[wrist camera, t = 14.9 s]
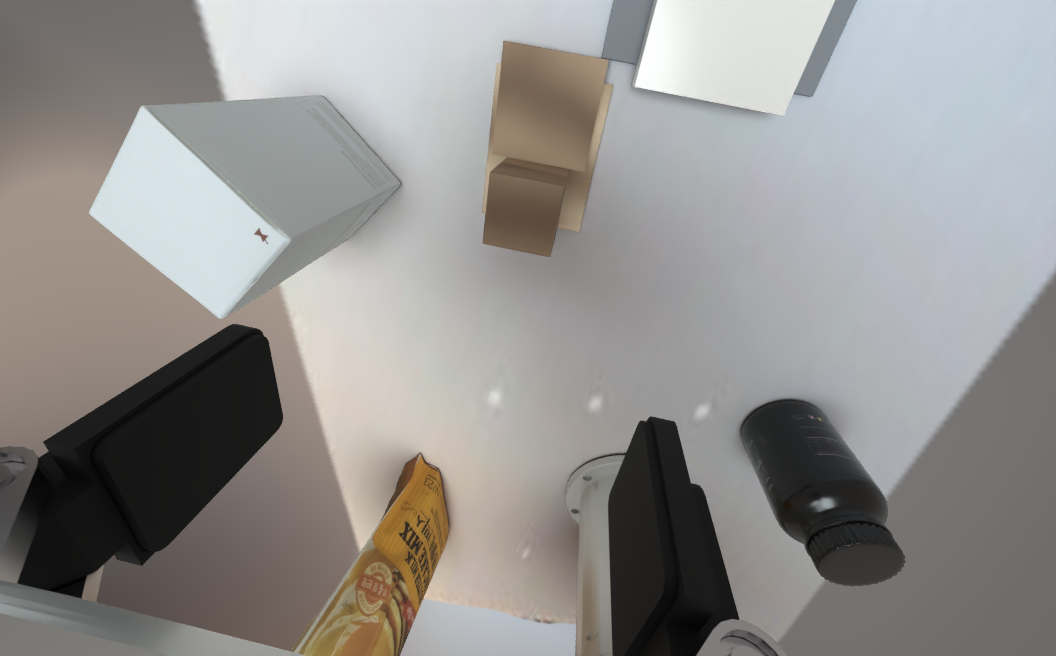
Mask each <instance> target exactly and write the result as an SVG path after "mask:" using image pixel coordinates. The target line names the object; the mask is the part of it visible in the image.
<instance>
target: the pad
mask: <svg viewBox="0 0 1056 656" xmlns="http://www.w3.org/2000/svg"><path fill="white" fill-rule="evenodd" d="M500 71H501V64H499V63H497V67H496V77H495V87H494V97H493V107H492V117H491V128H490V138H489V148H488V158H487V168H486V178H485V188H484V199H483V209H482V213H486V205H487V195H488V185H489V175H490V172H491V171H492V170H493V169H494V168H495V167H496V166H498V165H499V164H500V163H501V162H502V161H503V160H504V159H506V158H507V157H504V156H499V155H494V154H492V149H493V139H494V130H495V120H496V110H497V100H498V90H499V81H500ZM612 88H613V85H611V84H606V83H604V85H603V90H602V94H601V99H600V103H599V108H598V112H597V117H596V121H595V126H594V130H593V135H592V140H591V144H590V149H589V153H588V158H587V162H586V167H585V171H584V172H582V171H577V170H571V169H569V172H568V177H567V182H566V187H565V192H564V197H563V202H562V207H561V212H560V217H559V222H558V227H557V228H561V229H566V230H571V231H576V232H579V230H580V226H581V222H582V218H583V213H584V209H585V205H586V200H587V196H588V192H589V187H590V183H591V179H592V174H593V170H594V166H595V162H596V157H597V153H598V149H599V144H600V140H601V136H602V131H603V127H604V123H605V119H606V114H607V110H608V106H609V101H610V97H611V93H612Z"/></svg>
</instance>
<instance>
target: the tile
mask: <svg viewBox="0 0 1056 656" xmlns="http://www.w3.org/2000/svg"><path fill="white" fill-rule="evenodd" d="M834 2H835V0H654V2H653V6H652V10H651V13H650V17H649V21H648V25H647V29H646V33H645V37H644V40H643V44H642V48H641V52H640V56H639V60H638V64H637V67H636V71H635V75H634V79H633V83H632V87H637V88H642V89H647V90H652V91H657V92H662V93H668V94H673V95H678V96H683V97H688V98H693V99H698V100H703V101H708V102H714V103H719V104H724V105H729V106H734V107H739V108H744V109H749V110H754V111H760V112H765V113H770V114H776V115H781V116H784V114H785V112H786V109H787V107H788V105H789V103H790V100H791V98H792V96H793V94H794V91H795V89H796V87H797V85H798V82H799V80H800V78H801V76H802V73H803V71H804V69H805V67H806V65H807V62H808V60H809V58H810V56H811V53H812V51H813V49H814V47H815V44H816V42H817V40H818V38H819V35H820V33H821V31H822V29H823V26H824V24H825V22H826V20H827V17H828V15H829V13H830V11H831V8H832V6H833V4H834Z"/></svg>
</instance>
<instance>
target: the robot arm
mask: <svg viewBox="0 0 1056 656" xmlns="http://www.w3.org/2000/svg"><path fill="white" fill-rule="evenodd" d="M282 420H283V413H282V408H281V403H280V398H279V393H278V388H277V383H276V377H275V372H274V367H273V362H272V357H271V352H270V347H269V342H268V340H267V338H266V337H264V335H263V333H262V332H261V330H259V329H256V328H252V327H247V326H243V325H238V324H232V325H230V326H228V327H226V328H224V329H223V330H221V331H220V332H218V333H217V334H215V335H213V336H212V337H210V338H209V339H207V340H205V341H204V342H202V343H200V344H199V345H197V346H196V347H194V348H192V349H191V350H189V351H188V352H186V353H184V354H183V355H181V356H180V357H178V358H176V359H175V360H173V361H172V362H170V363H168V364H167V365H165V366H164V367H162V368H160V369H159V370H157V371H156V372H154V373H152V374H151V375H150V376H148V377H146V378H145V379H143V380H141V381H140V382H138V383H136V384H135V385H133V386H132V387H130V388H128V389H127V390H125V391H124V392H122V393H121V394H119V395H117V396H116V397H114V398H112V399H111V400H109V401H108V402H106V403H104V404H103V405H101V406H100V407H98V408H96V409H95V410H94V411H92V412H90V413H88V414H87V415H85V416H84V417H82V418H80V419H79V420H77V421H76V422H74V423H72V424H71V425H70V426H68V427H66V428H64V429H63V430H61V431H60V432H58V433H56V434H55V435H53V436H52V437H50V438H48V439H47V440H45V441H44V442H43V443H44V444H45V446H46V447H47V449H48V450H49V452H47V453H46V454H44V455H43V456H41V457H40V458H39V457H38V456H37V454H36V453H35V452H34V451H33V450H31V449H28V448H25V447H12V446H11V447H10V446H9V447H1V448H0V656H306V655H302V654H298V653H294V652H290V651H286V650H282V649H278V648H274V647H271V646H267V645H262V644H259V643H255V642H251V641H247V640H243V639H239V638H235V637H231V636H227V635H224V634H220V633H216V632H212V631H208V630H204V629H200V628H196V627H192V626H188V625H184V624H180V623H176V622H172V621H168V620H164V619H160V618H156V617H152V616H148V615H144V614H140V613H136V612H132V611H128V610H124V609H120V608H116V607H112V606H108V605H104V604H100V603H96V599H97V594H98V589H99V584H100V580H101V575H102V570H103V566H104V564H105V563H106V562H107V561H108V560H109V559H110V558H111V557H112V556H113V555H115V556H116V558H117V560H121V561H125V562H129V563H133V564H137V565H141V566H142V565H143V564H144V563H145V562H146V561H147V560H148V559H149V558H150V557H151V556H152V555H153V554H154V553H155V552H157V551H160V550H162V549H164V548H165V547H166V546H168V545H169V544H170V543H171V542H172V541H173V540H174V538H176V536H177V535H178V534H179V533H180V532H181V531H182V530H183V529H184V528H185V527H186V526H187V525H188V524H189V523H190V522H191V521H192V520H193V518H195V516H196V515H197V514H198V513H199V512H200V511H201V510H202V509H203V508H204V507H205V506H206V505H207V504H208V503H209V502H210V501H211V500H212V499H213V497H215V495H216V494H217V493H218V492H219V491H220V490H221V489H222V488H223V487H224V486H225V485H226V484H227V483H228V482H229V481H230V480H231V479H232V477H234V476H235V474H236V473H237V472H238V471H239V470H240V469H241V468H242V467H243V466H244V465H245V464H246V463H247V462H248V461H249V460H250V459H251V458H252V456H253V455H254V454H255V453H256V452H257V451H258V450H259V449H260V448H261V447H262V446H263V445H264V444H265V443H266V442H267V441H268V440H269V439H270V438H271V437H272V436H273V434H275V432H276V431H277V430H278V429H279V427H280V426H281V424H282ZM565 503H566V507H567V510H568V512H569V513H570V515H571V517H572V518H573V519H574V520H575V521H576V522H577V523H578V524H579V552H578V585H577V618H576V653H575V656H787V654H786V653H785V651H784V650H783V649H782V648H781V647H780V646H779V645H778V644H777V643H776V642H775V641H774V639H773V638H772V637H770V636H769V635H768V634H766V633H765V632H764V631H762V630H761V629H760V628H758V627H756V626H754V625H752V624H750V623H748V622H746V621H741V620H739V616H738V613H737V609H736V605H735V602H734V598H733V594H732V591H731V587H730V584H729V580H728V576H727V573H726V569H725V565H724V562H723V558H722V555H721V551H720V547H719V544H718V540H717V536H716V533H715V529H714V526H713V522H712V518H711V515H710V511H709V507H708V504H707V500H706V496H705V494H704V491H703V489H702V488H701V487H700V486H699V485H696V484H691V482H690V478H689V474H688V470H687V466H686V462H685V458H684V454H683V450H682V446H681V442H680V438H679V434H678V430H677V426H676V423H675V422H674V421H669V420H665V419H660V418H656V417H649V418H648V420H647V422H646V421H640V422H639V423H638V425H637V428H636V430H635V433H634V435H633V438H632V440H631V442H630V445H629V447H628V450H627V452H626V455H615V456H609V457H603V458H600V459H597V460H593V461H591V462H589V463H587V464H585V465H583V466H582V467H581V468H579V469H578V470H577V471H575V473H574V474H573V475H572V476H571V477H570V479H569V481H568V483H567V486H566V492H565Z"/></svg>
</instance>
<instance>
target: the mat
mask: <svg viewBox="0 0 1056 656" xmlns="http://www.w3.org/2000/svg"><path fill="white" fill-rule="evenodd" d="M653 2H654V0H614V2H613V6H612V11H611V16H610V21H609V25H608V30H607V35H606V39H605V44H604V49H603V54H602V58H605V59H611V60H616V61H622V62H627V63H632V64H638V60H639V56H640V52H641V48H642V44H643V40H644V37H645V33H646V29H647V25H648V21H649V17H650V13H651V10H652V6H653ZM856 2H857V0H835V2H834V4H833V6H832V8H831V11H830V13H829V15H828V17H827V20H826V22H825V24H824V26H823V29H822V31H821V33H820V35H819V38H818V40H817V42H816V44H815V47H814V49H813V51H812V53H811V56H810V58H809V60H808V62H807V65H806V67H805V69H804V71H803V73H802V76H801V78H800V80H799V82H798V85H797V87H796V89H795V91H794V94H800V95H805V96H813V95H814V92H815V90H816V88H817V86H818V84H819V82H820V79H821V77H822V75H823V73H824V71H825V69H826V66H827V64H828V62H829V60H830V58H831V56H832V53H833V51H834V49H835V47H836V45H837V43H838V41H839V38H840V36H841V34H842V32H843V30H844V28H845V25H846V23H847V21H848V19H849V17H850V15H851V12H852V10H853V8H854V6H855V4H856Z"/></svg>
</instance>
